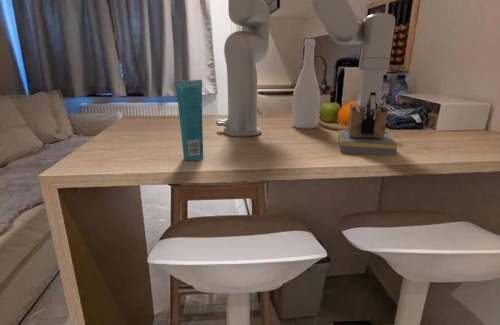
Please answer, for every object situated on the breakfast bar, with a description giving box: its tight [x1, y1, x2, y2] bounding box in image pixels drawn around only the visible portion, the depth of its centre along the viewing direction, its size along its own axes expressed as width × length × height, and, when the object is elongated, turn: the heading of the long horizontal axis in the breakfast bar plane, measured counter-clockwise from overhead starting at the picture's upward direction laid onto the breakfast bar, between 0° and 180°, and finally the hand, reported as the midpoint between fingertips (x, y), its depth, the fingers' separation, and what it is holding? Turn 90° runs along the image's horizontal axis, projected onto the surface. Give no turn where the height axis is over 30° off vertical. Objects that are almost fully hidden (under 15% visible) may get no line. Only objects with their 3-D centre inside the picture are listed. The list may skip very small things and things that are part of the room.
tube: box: [174, 79, 204, 162], centre depth 79 cm, size 7×5×19 cm, turn 140°
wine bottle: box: [291, 38, 321, 130], centre depth 114 cm, size 10×10×30 cm
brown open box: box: [347, 103, 389, 138], centre depth 91 cm, size 9×6×8 cm
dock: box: [337, 129, 398, 156], centre depth 93 cm, size 14×14×3 cm
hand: (365, 130), depth 92 cm, fingers closed on brown open box, 6 cm apart
